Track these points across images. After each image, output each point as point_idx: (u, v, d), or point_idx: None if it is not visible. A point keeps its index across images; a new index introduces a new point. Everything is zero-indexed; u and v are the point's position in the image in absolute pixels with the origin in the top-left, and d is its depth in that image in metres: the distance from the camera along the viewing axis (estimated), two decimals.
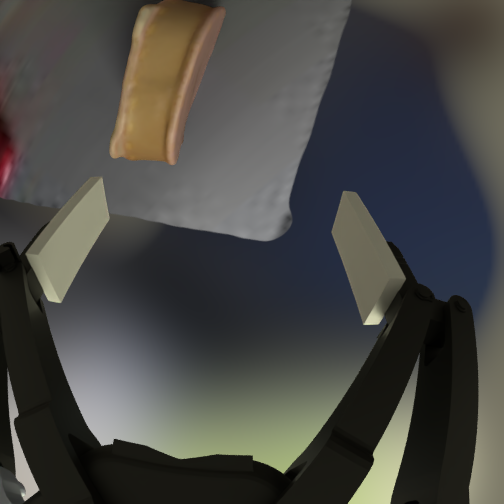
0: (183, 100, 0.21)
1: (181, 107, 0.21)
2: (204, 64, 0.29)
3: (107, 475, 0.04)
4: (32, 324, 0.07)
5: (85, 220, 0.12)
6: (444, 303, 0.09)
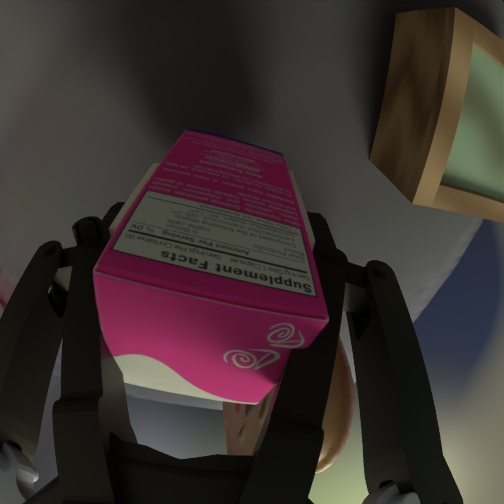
0: None
1: None
2: None
3: None
4: None
5: None
6: (361, 271, 0.10)
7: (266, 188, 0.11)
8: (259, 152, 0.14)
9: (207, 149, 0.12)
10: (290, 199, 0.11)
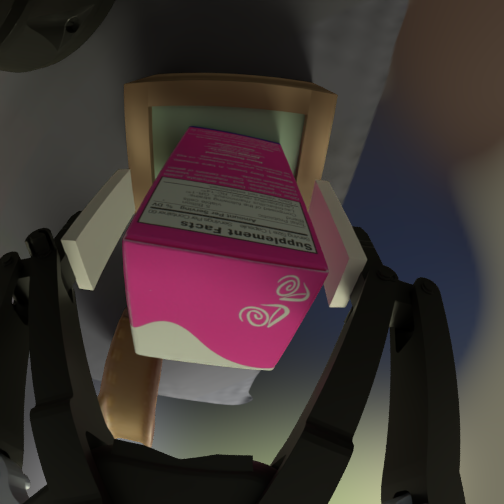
0: (151, 443, 0.28)
1: (150, 444, 0.28)
2: None
3: (107, 475, 0.04)
4: (61, 315, 0.07)
5: (115, 210, 0.13)
6: (409, 287, 0.10)
7: (266, 172, 0.12)
8: (258, 142, 0.15)
9: (210, 142, 0.13)
10: (289, 179, 0.12)
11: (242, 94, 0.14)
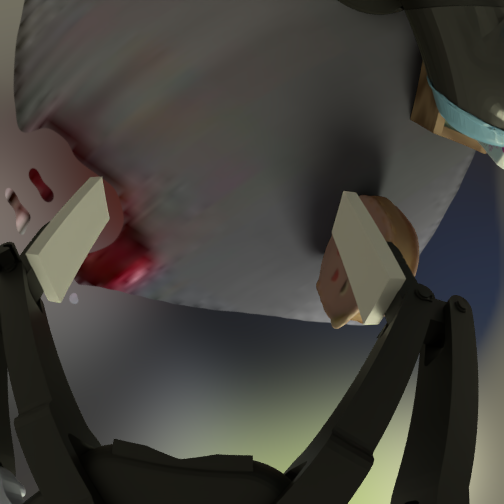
0: None
1: None
2: None
3: (107, 475, 0.04)
4: (32, 324, 0.07)
5: (85, 220, 0.12)
6: (444, 303, 0.09)
7: None
8: None
9: None
10: None
11: None
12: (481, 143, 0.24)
